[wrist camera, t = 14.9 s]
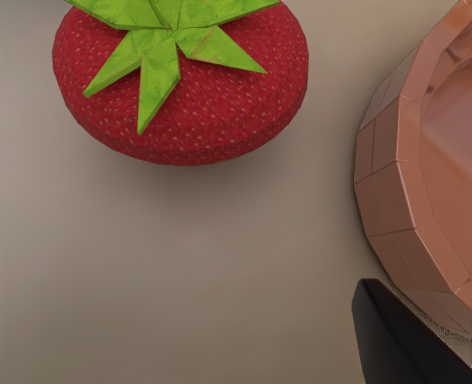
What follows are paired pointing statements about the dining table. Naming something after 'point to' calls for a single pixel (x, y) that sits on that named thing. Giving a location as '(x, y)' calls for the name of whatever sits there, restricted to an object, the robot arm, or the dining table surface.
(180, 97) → the strawberry
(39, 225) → the dining table surface
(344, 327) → the dining table surface
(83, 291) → the dining table surface
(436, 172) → the pot
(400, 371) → the robot arm
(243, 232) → the dining table surface
